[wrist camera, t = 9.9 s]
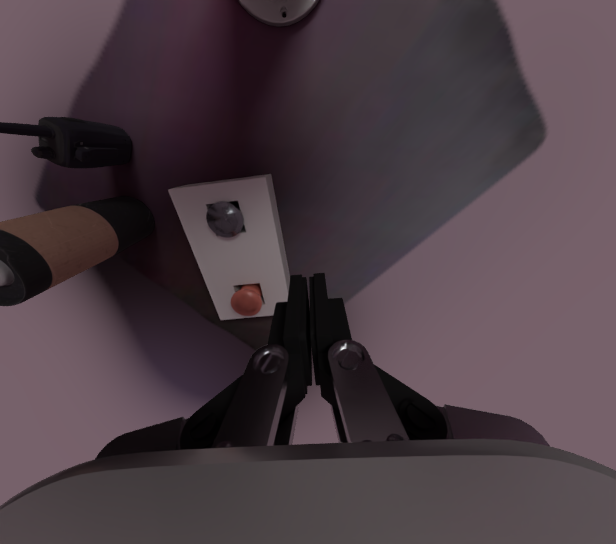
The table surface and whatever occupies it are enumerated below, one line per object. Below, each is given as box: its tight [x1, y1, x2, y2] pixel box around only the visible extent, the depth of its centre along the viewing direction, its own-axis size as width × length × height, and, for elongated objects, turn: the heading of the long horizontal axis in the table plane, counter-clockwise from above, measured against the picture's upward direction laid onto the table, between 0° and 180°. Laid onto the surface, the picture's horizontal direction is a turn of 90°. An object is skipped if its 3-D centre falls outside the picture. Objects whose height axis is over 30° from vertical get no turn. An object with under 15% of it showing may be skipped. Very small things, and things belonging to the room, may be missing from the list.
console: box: [168, 174, 290, 320], centre depth 38 cm, size 24×14×5 cm, turn 7°
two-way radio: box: [0, 117, 131, 168], centre depth 26 cm, size 6×4×15 cm
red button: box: [231, 283, 262, 316], centre depth 39 cm, size 5×5×4 cm
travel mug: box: [0, 196, 155, 306], centre depth 29 cm, size 8×8×20 cm
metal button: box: [206, 201, 244, 238], centre depth 34 cm, size 5×5×4 cm
